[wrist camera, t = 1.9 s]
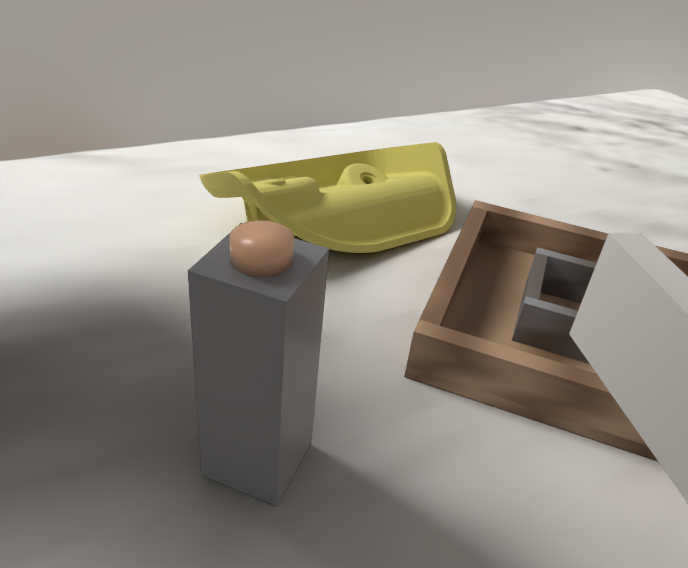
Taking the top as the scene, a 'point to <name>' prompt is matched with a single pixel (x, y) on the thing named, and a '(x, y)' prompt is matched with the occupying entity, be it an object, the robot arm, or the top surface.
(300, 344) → the grey tall block
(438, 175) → the plastic component
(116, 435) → the top surface
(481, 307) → the box
